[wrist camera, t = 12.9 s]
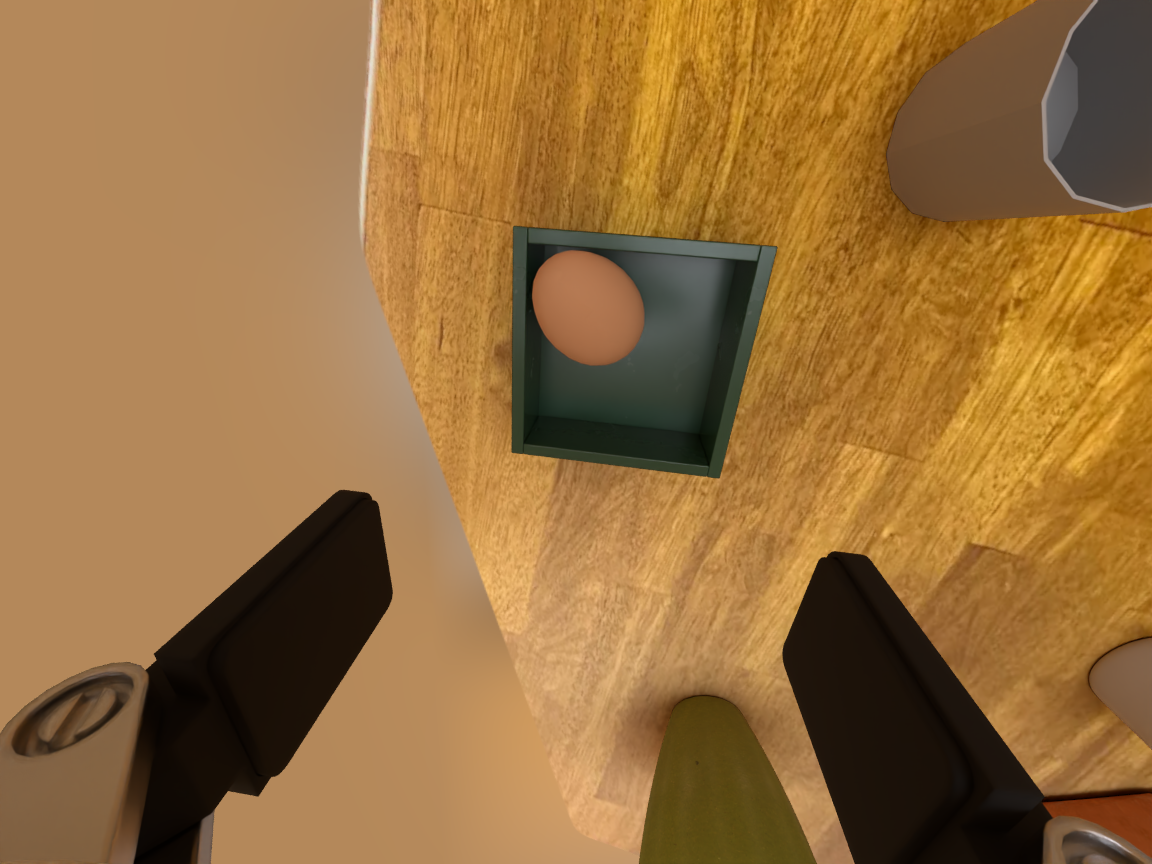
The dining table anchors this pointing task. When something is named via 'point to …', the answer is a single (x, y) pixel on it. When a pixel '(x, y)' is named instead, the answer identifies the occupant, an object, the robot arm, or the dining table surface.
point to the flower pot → (718, 794)
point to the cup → (1033, 118)
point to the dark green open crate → (641, 354)
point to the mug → (1127, 685)
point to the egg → (588, 307)
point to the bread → (1114, 816)
